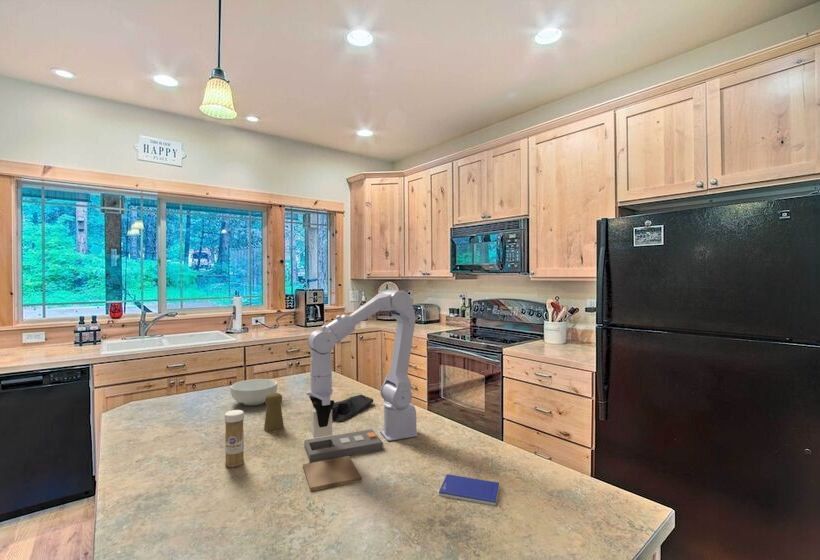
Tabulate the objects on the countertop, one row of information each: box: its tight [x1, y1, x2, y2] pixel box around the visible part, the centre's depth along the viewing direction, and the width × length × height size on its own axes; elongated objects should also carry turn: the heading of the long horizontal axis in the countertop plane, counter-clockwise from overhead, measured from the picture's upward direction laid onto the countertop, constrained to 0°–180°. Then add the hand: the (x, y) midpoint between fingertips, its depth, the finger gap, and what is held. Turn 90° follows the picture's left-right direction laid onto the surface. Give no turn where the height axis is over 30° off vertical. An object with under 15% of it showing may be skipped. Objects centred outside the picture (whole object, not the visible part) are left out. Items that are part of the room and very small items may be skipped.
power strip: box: [304, 429, 384, 463], centre depth 113 cm, size 20×10×3 cm, turn 113°
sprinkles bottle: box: [224, 409, 245, 468], centre depth 104 cm, size 5×5×14 cm
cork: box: [263, 392, 285, 433], centre depth 127 cm, size 6×6×11 cm
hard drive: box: [438, 473, 500, 506], centre depth 91 cm, size 2×8×12 cm
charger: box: [310, 406, 333, 439], centre depth 110 cm, size 5×4×8 cm
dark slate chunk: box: [332, 394, 374, 423], centre depth 144 cm, size 15×22×5 cm
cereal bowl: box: [230, 378, 278, 406], centre depth 153 cm, size 17×17×7 cm
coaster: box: [302, 455, 363, 492], centre depth 98 cm, size 12×12×1 cm
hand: (321, 423), depth 110 cm, fingers closed on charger, 4 cm apart
